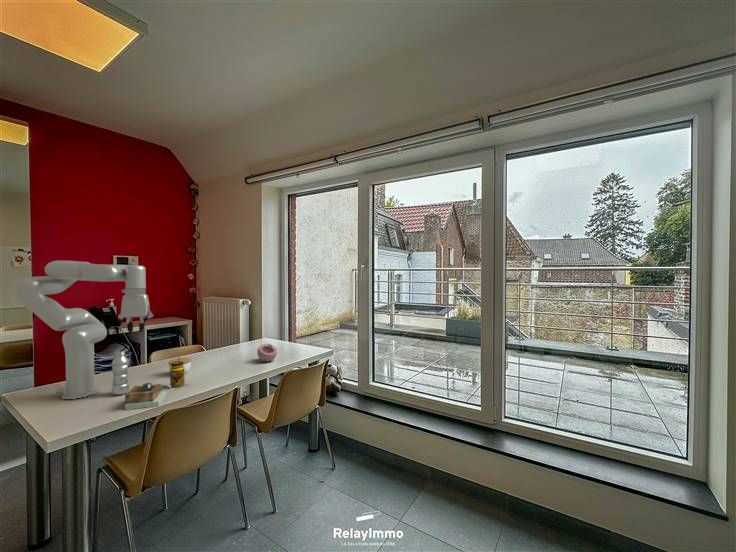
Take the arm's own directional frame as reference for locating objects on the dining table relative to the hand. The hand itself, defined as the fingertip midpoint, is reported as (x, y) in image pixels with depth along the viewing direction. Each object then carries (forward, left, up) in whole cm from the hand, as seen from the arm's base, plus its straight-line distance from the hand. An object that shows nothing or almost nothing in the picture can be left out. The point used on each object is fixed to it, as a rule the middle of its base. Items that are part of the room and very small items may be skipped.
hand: (136, 331), depth 146 cm
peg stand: (+8, -12, -29) cm, 33 cm away
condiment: (+15, +6, -30) cm, 34 cm away
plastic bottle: (-7, +2, -29) cm, 30 cm away
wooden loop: (+7, -12, -27) cm, 31 cm away
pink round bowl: (+58, +37, -29) cm, 75 cm away
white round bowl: (+12, +25, -29) cm, 40 cm away
